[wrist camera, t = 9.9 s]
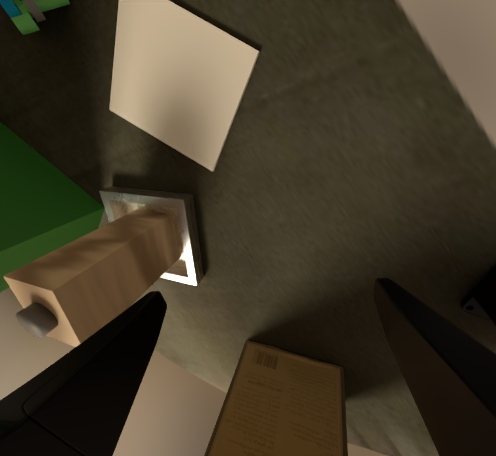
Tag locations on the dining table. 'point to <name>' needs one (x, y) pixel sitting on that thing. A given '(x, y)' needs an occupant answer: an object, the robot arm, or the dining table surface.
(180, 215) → the pocket
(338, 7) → the dining table surface
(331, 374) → the food packaging
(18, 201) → the hardback book
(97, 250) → the block
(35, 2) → the gear
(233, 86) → the beige flat slab
